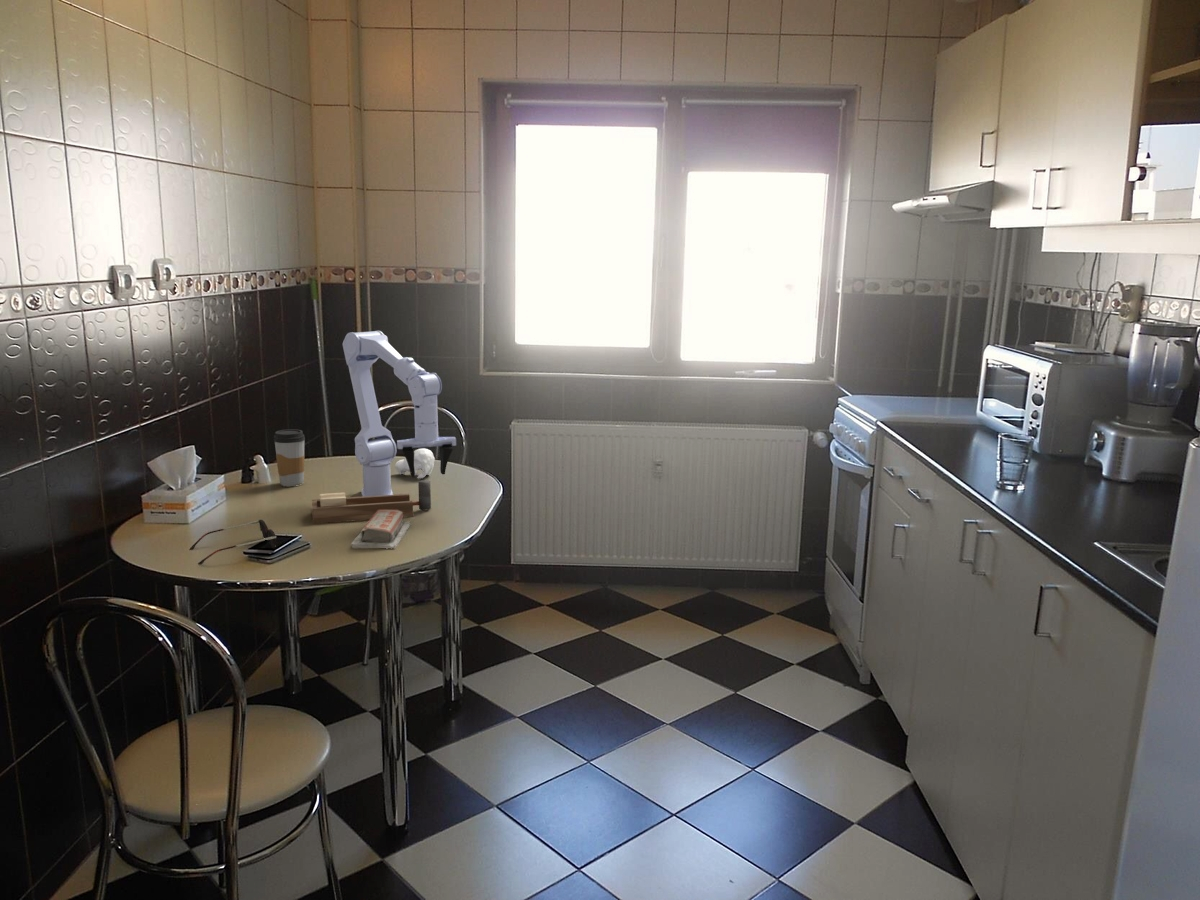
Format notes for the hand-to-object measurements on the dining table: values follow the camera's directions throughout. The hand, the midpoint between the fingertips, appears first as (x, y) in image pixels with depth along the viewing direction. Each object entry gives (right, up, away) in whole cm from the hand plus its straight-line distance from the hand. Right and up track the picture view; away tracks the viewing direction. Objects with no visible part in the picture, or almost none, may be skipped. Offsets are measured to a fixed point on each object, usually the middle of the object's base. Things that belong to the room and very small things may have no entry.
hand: (427, 474), depth 228 cm
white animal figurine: (-11, -2, +36) cm, 38 cm away
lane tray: (-16, -10, -2) cm, 19 cm away
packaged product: (-7, -15, -19) cm, 25 cm away
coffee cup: (-43, -4, +25) cm, 50 cm away
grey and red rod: (-13, -9, -1) cm, 16 cm away
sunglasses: (-37, -16, -31) cm, 51 cm away
